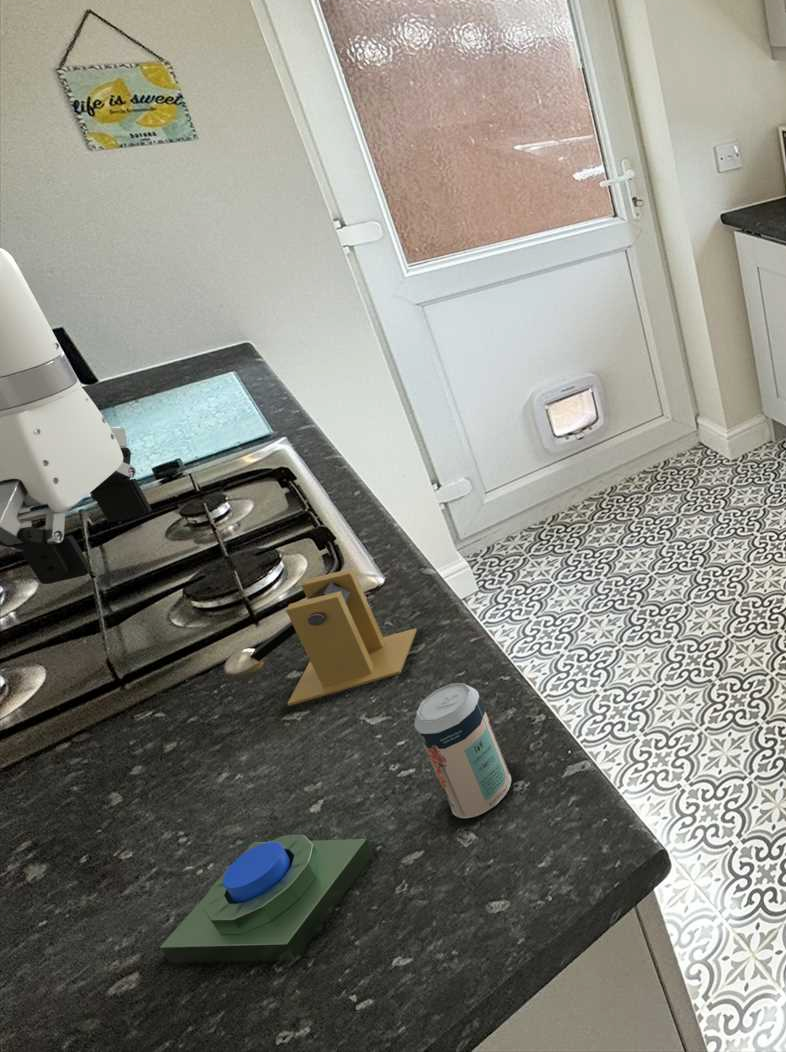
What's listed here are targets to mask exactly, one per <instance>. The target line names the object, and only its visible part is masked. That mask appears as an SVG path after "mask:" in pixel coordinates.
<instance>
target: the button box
mask: <svg viewBox="0 0 786 1052" xmlns="http://www.w3.org/2000/svg"><path fill="white" fill-rule="evenodd" d="M267 842H268V841H254V842H251V843H250V845H249V846H248V847H247V848H246V849H245V850H244V851H243V853H242V854H241V855H243V854H244V853H246V852H247V851H249V850H250V849H252V848H254V847H256V846H258V845H261V844H263V843H267ZM269 842H278V843H280V844H281V845H282V846H283V848H284V850H285V852H286V853H287V855H288V857H289V859H290V867H289V870H288V872H287V873H286V874H285V876H284V877H283V878H282V879H281V880H280V882H279V883H277V884H276V885H275V886H273V887H272V888H271V889H269V890H268V891H267V892H265V893H264V894H263V895H261V896H258V897H256V898H254V899H251V900H249V901H247V902H236V901H234V900H233V899H232V897H231V896H230V894H229V893H228V891H227V889H226V888H225V886H224V884H223V878H224V875H225V873H226V871H227V870H228V868H227V869H225V871H224V872H223V873H222V874H221V875H220V877H219V878H218V879H217V880H215V882H214V883H213V885H211V886H210V888H209V890H208V892H207V893H206V894H205V895H204V897H203V898H201V900H200V901H199V902H198V903H197V904H196V905H195V906H194V908H193V909H192V910H191V911H190V912H189V913H188V914H187V915H186V916H185V917H184V919H183V920H182V921H181V922H180V923H179V924H178V926H177V927H176V928H175V929H174V930H173V931H172V932H171V933H170V935H169V936H168V937H167V938H166V939H165V940H164V941H163V942H162V944H161V945H159V949H160V950H161V952H162V953H163V955H164V956H165V958H166V959H167V960H168V962H169V963H170V964H195V963H196V964H197V963H232V962H233V963H234V962H237V963H238V962H267V961H268V962H271V961H272V962H276V961H296V960H297V959H298V958H299V957H300V955H301V954H302V952H304V950H305V949H306V947H307V946H308V945H309V943H310V942H311V940H312V939H313V938H314V937H315V935H316V934H317V932H318V931H319V930H320V928H321V927H322V926H323V924H324V923H325V921H326V920H327V919H328V917H329V916H330V915H331V914H332V913H333V911H334V909H335V908H336V907H337V905H338V904H339V903H340V901H341V900H342V898H343V897H344V895H345V894H346V893H347V891H349V889H350V888H351V886H352V885H353V884H354V882H355V881H356V879H357V878H358V876H359V875H360V874H361V872H362V871H363V870H364V868H365V867H366V866H367V865H368V863H369V862H370V860H371V859H372V858H373V856H374V853H373V850H372V848H371V846H370V844H369V841H368V840H367V839H366V838H359V839H356V838H355V839H321V840H310V839H309V838H307V836H306V835H304V834H287V835H282V836H280V837H277V838H275V839H273V840H270V841H269Z"/></svg>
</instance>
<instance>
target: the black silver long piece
mask: <svg viewBox="0 0 786 1052" xmlns="http://www.w3.org/2000/svg"><path fill="white" fill-rule="evenodd" d="M339 591H341V593H342V596H343V598H344V600H345V602H346V601H347V599H348V597H349V595H350V594H351V592H350V591H348V590H346V589H345V588H343V587H341V586H339V585H338V584H336V583H334V582H332V581H330V582H329V583H328V584H326V585H325V586H324V587H322V588H321V589H320V590H318V591H317V592H316V593H315V594H313V595H312V596H311V597H309V599H312V598H316V597H320V596H323V595H327V594H331V593H335V592H339ZM295 634H297V632H296V630H295V628H294V626H293V624H292V622H291V621H290V622H288V623H287V624H286V625H285V626H284V627H282V628H281V629H279V630H278V631H277V632H276V633H274V634H273V635H271V636H270V637H269V638H268V639H267V640H265V641H264V642H263V643H261V644H260V645H258V646H257V647H256V648H243V649H240V650H238V651H235V652H234V653H233V654H231V655H230V656H229V657H228V658H227V659H226V661H225V662H224V665H223V668H222V669H223V674H224V676H225V678H226V679H228V680H229V681H231V682H237V683H238V682H239V683H240V682H246V681H249V680H252V679H253V678H255V677H256V676H258V675H259V674H260V673H261V672H262V670H263V669H264V667H265V665H266V657H267V656H268V655H269V654H271V652H273V651H274V650H276V649H277V648H278V647H279V646H281V645H282V644H283V643H285V642H286V641H287V640H289V639H290V638H292V636H294V635H295Z"/></svg>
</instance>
